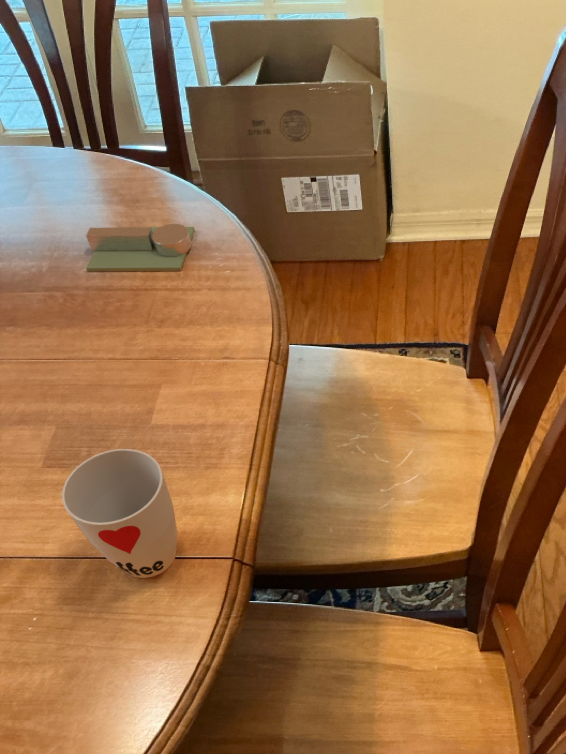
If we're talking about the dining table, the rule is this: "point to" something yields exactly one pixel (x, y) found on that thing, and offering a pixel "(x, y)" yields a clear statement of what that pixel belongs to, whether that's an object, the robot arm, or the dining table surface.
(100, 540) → the cup
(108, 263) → the placemat
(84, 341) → the dining table surface
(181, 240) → the spoon
